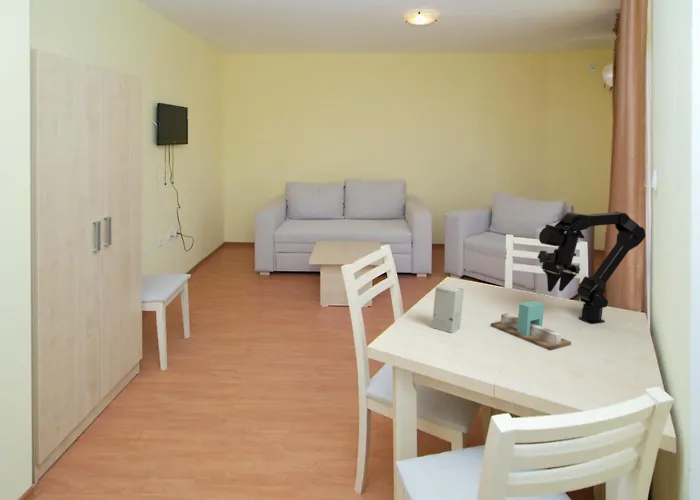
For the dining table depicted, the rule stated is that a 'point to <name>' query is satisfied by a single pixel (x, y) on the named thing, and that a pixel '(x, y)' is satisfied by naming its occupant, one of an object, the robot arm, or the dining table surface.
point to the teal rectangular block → (529, 316)
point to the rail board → (530, 337)
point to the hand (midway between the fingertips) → (554, 291)
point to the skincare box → (447, 308)
